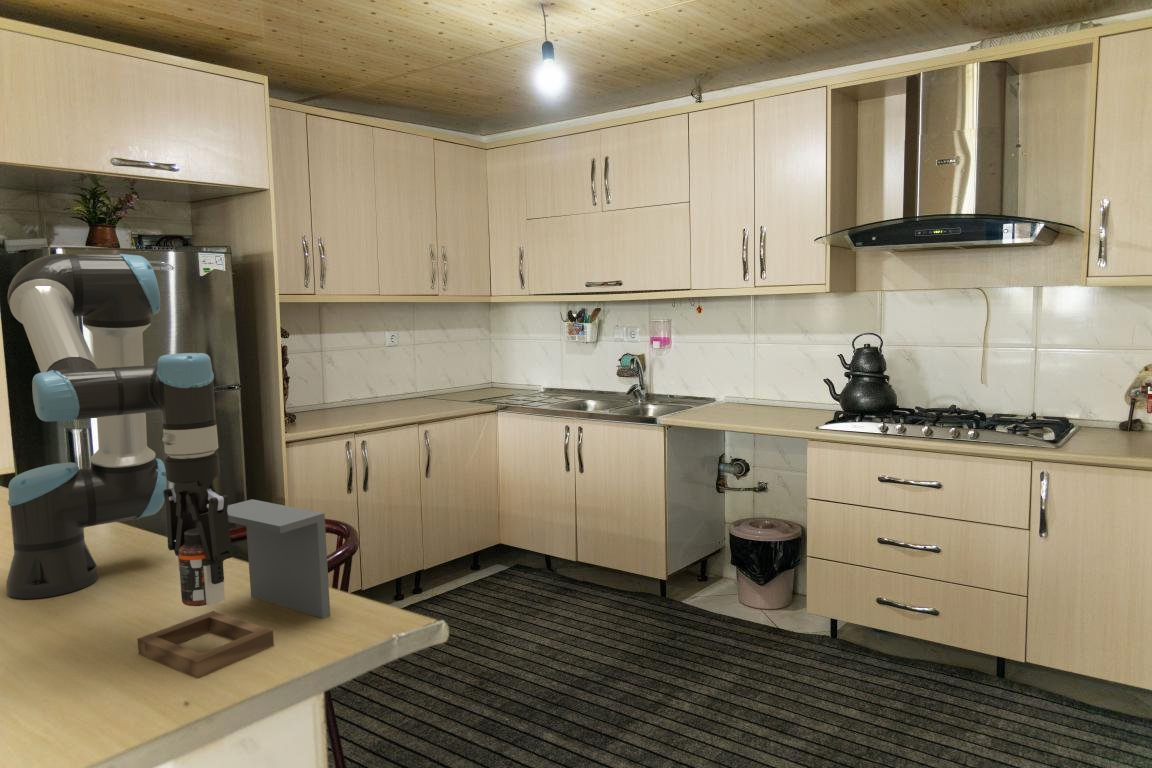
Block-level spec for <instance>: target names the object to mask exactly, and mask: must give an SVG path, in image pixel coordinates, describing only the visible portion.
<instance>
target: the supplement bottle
mask: <svg viewBox="0 0 1152 768" xmlns="http://www.w3.org/2000/svg"><path fill="white" fill-rule="evenodd" d="M184 540H185V543H184V545H182V546H181V547H180V549H179V562H178V568H179V567H180V572H179V581H180V582H181V585H180V594H181V602H182V604H183V605H185V606H188V607H203V606H207V605H206V594H205V582H204V569H203V564H202V563H203V562H206V557H205V553H204V549H203V545H202V541H201V537H200V533H199V529H198V527H196V528H195V529H190V530H187V531H186V532H185V533H184Z"/></svg>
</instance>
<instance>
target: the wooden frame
mask: <svg viewBox="0 0 1152 768" xmlns="http://www.w3.org/2000/svg"><path fill="white" fill-rule="evenodd" d="M208 633H213V634H215V635H219V636H222V637H225V638H228V639H230V640H232V641H229V642H226V643H224V644H222V645H219V646H217V647H215V648H212V649H210V650H207V651H205V652H202V653H201V652H198V651H195V650H192V649H190V648H187V647H184V646H182V645H181V644H182V643H184V642H188V641H190V640H192V639H194V638H195V639H196V638H199V637H200V636H203V635H205V634H208ZM136 639H137V649H138V650H137V651H138V655H140V654H141V655H140V656H142V655H143V656H142V657H145V658H147V657H148V659H150V660H152V661H155V662H157V663H159V662H160V664H162V665H165V666H167V667H169V668H172V669H175V670H177V671H178V672H179V671H180V672H181V673H184V674H187V675H189V676H192V677H195V678H197V679H199V678H202V677H204V676H207V675H209V674H211V673H214V672H216V671H218V670H221V669H222V668H225V667H227V666H229V665H232V664H234V663H236V662H239V661H241V660H243V659H247V658H248V657H251V656H253V655H255V654H257V653H259V652H262V651H264V650H267V649H269V648H271V647H274V645H275V643H274V642H275V641H274V631H273V629H270V628H267V627H264V626H261V625H259V624H255V623H252V622H250V621H249V622H248V621H245V620H242V619H239V618H236V617H233V616H230V615H227V614H224V613H220V612H217V611H214V610H212V611H209V612H206V613H203V614H201V615H198V616H196V617H193V618H189V619H187V620H184V621H182V622H179V623H176V624H173V625H171V626H168V627H165V628H162V629H160V630H157V631H154V632H152V633H149V634H147V635H143V636H140V637H138V638H136Z"/></svg>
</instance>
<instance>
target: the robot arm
mask: <svg viewBox="0 0 1152 768" xmlns="http://www.w3.org/2000/svg"><path fill="white" fill-rule="evenodd" d="M158 283H159V282H158V279H157V277H156V273H155V271H154V269H153V266H152V264H151V263H150V261H148V259H146V258H145V257H144V256H142V255H139V254H138V255H136V254H126V253H125V254H123V253H54V254H53V253H52V254H48V255H45V256H41V257H39V258H37V259H35V260H32V261H30V262H29V263H27V264H26V265H25V266H23V267H22V268H21V269H20V270H19V271H18V272H17V273H16V274H15V276H14V277H13V278H12V280H11V282H10V284H9V286H8V291H7V303H8V306H9V309H10V312H11V314H12V316H13V317H14V318H15V319H16V320H17V321H18V322H19V323H20V324H22V326H23V329H24V331H25V333H26V337H27V338H28V341H29V344H30V346H31V349H32V352H33V355H34V357H35V361H36V362H37V365H38V366H37V367H38V369H39V371H40V372H38V373H36V374H35V375H34V376H33V378H32V382H31V386H32V400H33V405H34V410H35V414H36V416H37V417H38V419H39V420H41V421H43V422H47V423H49V422H63V421H64V422H73V421H76V420H77V421H79V420H85V419H94V418H96V423H97V424H96V426H97V441H98V445H97V446H98V449H97V451H96V452H95V453H93V454H92V455H91V456H90V467H86V468H80V467H79V466H78V464H77V463H76V462H62V463H53V464H47V465H44V466H39V467H36V468H33V469H29V470H26V471H24V472H21V473H18V474H17V475H16V476H14V477H13V478H12V479H10V481H9V483H8V500H7V503H8V504H7V505H8V506H9V510H10V521H11V531H12V541H13V542H12V543H13V557H12V560H11V564H10V568H9V571H8V575H7V578H6V581H5V582H6V584H5V585H6V593H7V595H8V596H9V597H10V598H13V599H19V600H21V599H23V600H25V599H27V600H29V599H31V600H33V599H41V598H49V597H54V596H60V595H64V594H68V593H72V592H76V591H78V590H81V589H84V588H86V587H88V586H90V585H92V584H94V583H95V582H96V581H98V579H99V571H98V565H97V564H96V561H95V559H94V558H93V555H92V553H91V551H90V549H89V547H88V545H87V543H86V541H85V540H86V539H85V534H84V533H85V530H84V529H85V528H87V527H89V528H90V527H94V526H99V525H101V526H102V525H104V524H105V525H106V524H111V523H119V522H124V521H129V520H139V519H141V518H145V517H149V516H150V517H151V516H153V515H156V514H157V513H159V512H160V510H161V508H162V507H163V505H164V503H165V511H166V512H165V513H166V534H167V535H166V536H167V550H169V551H174V554H175V557H177V560H178V561H177V562H178V563H179V549H180V547H181V546H182V545H184V543H185V540H184V533H185V532H186V531H187V530H190V529H195V528H198V529H199V533H200V537H201V541H202V545H203V549H204V553H205V557H206V562H203V563H202V564H203V569H204V582H205V594H206V605H205V606H208V607H210V606H213V605H216V604H218V603H221V602H224V601H226V595H225V583H224V582H225V574H224V573H225V572H224V561H225V560H228V559H231V558H233V557H232V556H233V550H232V549H233V548H232V540H231V532H230V524H229V523H230V522H229V521H228V512H227V508H228V505H229V496H228V495H226V494H224V495H219V494H218V493H217V491H216V490H217V489H216V488H215V485H214V480H215V479H216V478H218V476H219V475H220V473H221V469H220V455H219V454H218V453H217V452H216V450H218V449H219V437H218V427H217V419H216V418H217V417H216V401H215V389H214V388H215V385H214V379H215V375H214V374H215V373H214V372H213V366H212V360H211V357H210V355H208V354H207V353H204V352H199V353H198V352H185V353H184V352H181V353H172V354H170V353H169V354H164V355H160V356H159V357H158V359H157V362H155V363H153V364H147V365H145V364H144V361H145V359H144V340H143V339H144V338H143V337H144V335H143V333H144V331H146V329H148V328H149V327H150V326H151V324H152V323H151V322H152V321H151V315H153V316H155V315H157V314H158V313H159V312H160V310H161V295H160V289H159V284H158ZM76 317H81V319H82V326H83V327H85V328H86V329H87V330H88V331H90V332H91V335H92V346H93V347H92V349H93V354H92V352H91V350H90V347H89V346H88V343H87V341H86V339H85V337H84V334H83V333H82V330H81V328H80V325H79V323H78V321H77V319H76ZM155 412H161V420H162V424H161V425H162V431H163V434H162V435H163V436H162V439H161V440H162V442H163V445H164V454H166V455H168V456H167V457H166V459H165V460H164V461H163V460H162V459H161V458H156V452H155V451H154V449H153V450H152V448H150V447H149V446H148V439H147V438H148V437H147V414H146V413H155ZM164 463H165V464H164ZM167 482H169V483H172V484H174V486H173V487H172V488H168V489H167V485H168V484H167ZM207 512H208V513H207ZM178 571H179V573H180V567H179V566H178ZM179 584H180V586H181V582H180V583H179Z"/></svg>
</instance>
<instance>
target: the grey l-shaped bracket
mask: <svg viewBox="0 0 1152 768" xmlns="http://www.w3.org/2000/svg"><path fill="white" fill-rule="evenodd" d="M227 512H228V521H229V523H232V524H237V525H240V526H246V543H247V555H248V556H247V557H248V570H249V571H248V572H249V573H248V574H249V585H250V597H251V598H254V599H257V600H260V601H264V602H267V603H270V604H274V605H277V606H281V607H284V608H287V609H290V610H294V611H298V612H301V613H303V614H307V615H310V616H314V617H317V618H321V619H325V618H327V617H330V616H331V607H330V606H331V605H330V604H331V603H330V589H329V588H330V587H329V572H328V571H329V570H328V566H329V565H328V555H327V554H328V552H327V550H328V549H327V534H326V520H325V519H326V516H325V512H320V511H315V510H311V509H310V510H309V509H304V508H299V507H294V506H288V505H284V504H278V503H273V502H268V501H263V500H258V499H253V498H252V499H248V500H244V501H239V502H237V503H233V504H228V508H227ZM207 513H208V512H207ZM207 513H206V514H207Z"/></svg>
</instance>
